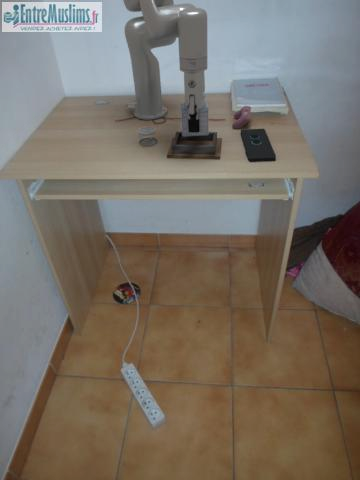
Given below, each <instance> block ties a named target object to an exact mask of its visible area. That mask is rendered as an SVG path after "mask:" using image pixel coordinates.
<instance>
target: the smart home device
mask: <svg viewBox="0 0 360 480" xmlns="http://www.w3.org/2000/svg"><path fill="white" fill-rule="evenodd" d="M240 137H241V140H242V143H243V144H242V145H243V147H244V150H245V151H244V152H245V155H246V158H247V160H248V162H249V163H258V162H259V163H261V162H275V161H276V159H277V158H276V157H277V155H276V152H275V150H274V148H273V146H272V145H273V144H272V143H271V141H270V139H269V136H268V133H267V132H266V129H265V128H250V129H249V128H248V129H247V128H246V129H244V128H243V129H240Z"/></svg>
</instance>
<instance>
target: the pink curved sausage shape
mask: <svg viewBox="0 0 360 480" xmlns="http://www.w3.org/2000/svg"><path fill="white" fill-rule="evenodd" d="M251 110H252V107H251V106H250V105H247V104H246V105H243V106H242V107H241V108H240V109H238V110H237V111H236V112H235V113H234V115H233V118H234V122H233V123H232V125H231V126H232V128H233V129H234V130H235V129H241V128H242V127H243V126H244V125H246V124H247V122H248V123H249V122H251V117H250V116H251ZM235 119H236V120H235Z"/></svg>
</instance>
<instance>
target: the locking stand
mask: <svg viewBox="0 0 360 480" xmlns="http://www.w3.org/2000/svg"><path fill="white" fill-rule="evenodd" d="M222 142H223V138H222V137H218V132H216V131H208V135H204V136H182V131H175V135H174V137H173V136H172V139H171V141H170V145H169V147H168V150H167V154H166V158H167V159H193V160H194V159H195V160H197V159H198V160H199V159H200V160H220V159H221V150H222V145H223V144H222Z"/></svg>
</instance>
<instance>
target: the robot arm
mask: <svg viewBox="0 0 360 480" xmlns="http://www.w3.org/2000/svg"><path fill="white" fill-rule="evenodd" d="M123 5H124V6H125V9H126V10H127V11H129V12H133V13H138V12H139V13H140V12H141V14H142V16H135V17H133V18H130V19H129V20H128V21H127V22H126V23H125V25H124V36H125V40H126V44H127V48H128V52H129V56H130V61H131V63H130V64H131V70H132V71H131V72H132V77H133V85H134V92H135V101H126V102H125V107H126V108H127V109H128V110H133V115H134V117H135V118H136V119H139V120H144V121H147V120H148V121H149V120H150V121H152V120H157V119H160V118H162V117H165V116H166V115H167V112H168V110H167V107H166V106H164V105H163V98H162V97H163V96H162V81H161V70H160V63H159V60H158V58H157V57H156V56H155V54H154V53H153V52H152V50H153V49H155V48H163V47H166V46H170V45H173V44H175V43H176V40H177V39H178V41H177V42H178V56H179V61H178V62H179V71H180V72H182V73H183V83H184V84H183V87H184V103H185V106H186V109H188V130H189V132H199V131H200V129H199V119H198V109H200V110H201V109H203V106H204V102H206V89H205V88H206V85H205V84H206V83H205V82H206V80H205V71H206V70H208V13H207V11H206V10H205V9H204V8H202V7H201V8H200V7H196V6H195V5H194V4H192V3H188V2H187V3H180V4H175V3H174V0H123ZM195 106H197V108H194V107H195ZM194 110H196V112H195V111H194Z"/></svg>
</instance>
